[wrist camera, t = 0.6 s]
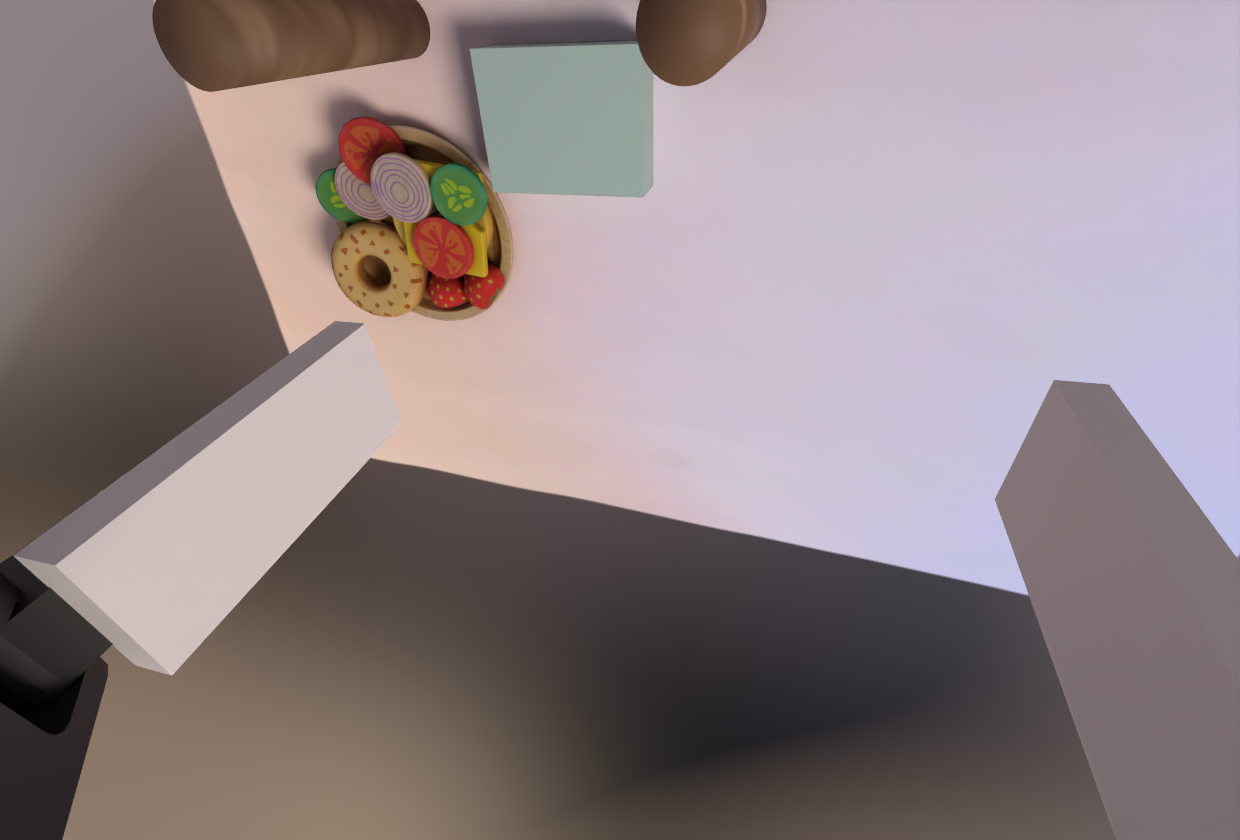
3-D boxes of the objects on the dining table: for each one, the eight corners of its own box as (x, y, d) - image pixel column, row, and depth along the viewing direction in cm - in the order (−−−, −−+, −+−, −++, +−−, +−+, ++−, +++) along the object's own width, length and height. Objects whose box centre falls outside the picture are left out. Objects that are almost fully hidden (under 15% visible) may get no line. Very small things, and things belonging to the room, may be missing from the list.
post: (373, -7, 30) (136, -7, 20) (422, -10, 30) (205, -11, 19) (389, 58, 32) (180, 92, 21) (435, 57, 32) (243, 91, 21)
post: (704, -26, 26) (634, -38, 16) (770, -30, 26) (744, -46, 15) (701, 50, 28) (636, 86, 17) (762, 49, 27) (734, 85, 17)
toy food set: (361, 294, 43) (333, 312, 41) (317, 100, 35) (280, 109, 33) (522, 328, 41) (504, 350, 39) (516, 131, 33) (492, 142, 31)
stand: (490, 45, 30) (469, 48, 28) (652, 40, 28) (641, 43, 26) (510, 181, 35) (493, 192, 33) (652, 185, 33) (643, 197, 31)
